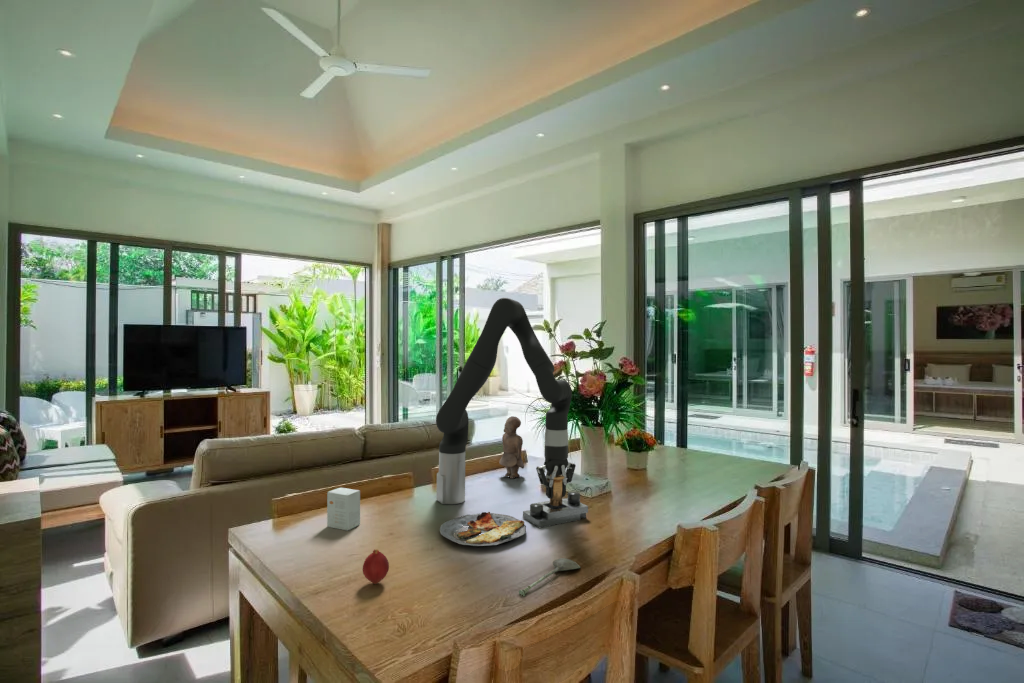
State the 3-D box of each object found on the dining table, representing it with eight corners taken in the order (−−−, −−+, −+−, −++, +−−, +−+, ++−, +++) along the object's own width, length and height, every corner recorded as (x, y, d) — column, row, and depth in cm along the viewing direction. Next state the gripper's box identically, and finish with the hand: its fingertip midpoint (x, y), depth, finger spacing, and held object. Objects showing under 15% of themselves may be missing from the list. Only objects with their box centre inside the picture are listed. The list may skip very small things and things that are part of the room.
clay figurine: (493, 475, 214) (494, 415, 215) (512, 471, 220) (513, 413, 220) (511, 482, 204) (512, 419, 204) (531, 478, 210) (532, 417, 210)
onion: (365, 577, 120) (365, 543, 120) (390, 577, 121) (390, 543, 121) (360, 589, 114) (360, 554, 114) (386, 589, 115) (386, 553, 115)
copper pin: (553, 507, 159) (553, 478, 159) (544, 502, 164) (544, 474, 164) (567, 505, 162) (567, 476, 162) (558, 500, 166) (558, 472, 166)
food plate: (488, 513, 166) (488, 503, 166) (542, 534, 149) (542, 522, 149) (424, 535, 148) (424, 523, 148) (477, 561, 132) (477, 548, 132)
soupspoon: (585, 571, 128) (563, 565, 132) (585, 557, 128) (563, 551, 132) (532, 602, 111) (509, 593, 115) (532, 586, 111) (509, 578, 115)
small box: (360, 525, 155) (361, 490, 155) (347, 531, 149) (347, 495, 150) (340, 521, 158) (340, 486, 158) (326, 526, 153) (327, 491, 153)
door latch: (539, 527, 154) (539, 504, 154) (522, 517, 163) (523, 495, 163) (587, 518, 163) (588, 496, 163) (569, 509, 172) (570, 488, 172)
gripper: (568, 439, 170) (567, 491, 170) (531, 442, 163) (530, 497, 163) (581, 443, 163) (581, 497, 163) (543, 447, 156) (543, 503, 156)
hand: (555, 496), depth 163 cm, fingers closed on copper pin, 4 cm apart
